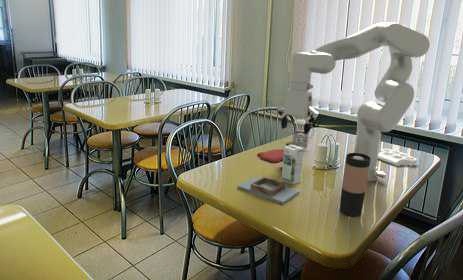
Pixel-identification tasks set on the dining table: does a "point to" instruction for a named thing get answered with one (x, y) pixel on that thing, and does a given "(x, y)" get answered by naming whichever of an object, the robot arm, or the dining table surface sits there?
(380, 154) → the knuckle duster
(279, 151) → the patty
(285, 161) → the syrup box
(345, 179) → the travel mug
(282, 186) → the socket frame
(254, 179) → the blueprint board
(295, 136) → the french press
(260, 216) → the dining table surface
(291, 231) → the dining table surface
